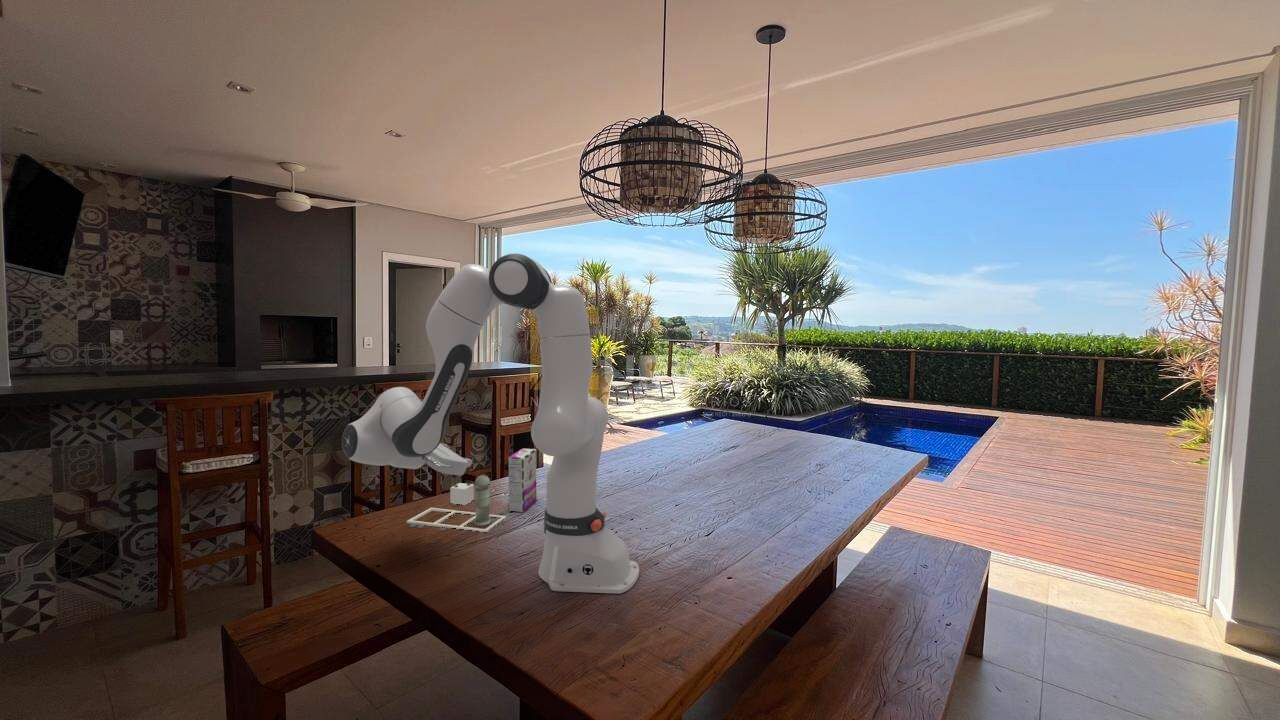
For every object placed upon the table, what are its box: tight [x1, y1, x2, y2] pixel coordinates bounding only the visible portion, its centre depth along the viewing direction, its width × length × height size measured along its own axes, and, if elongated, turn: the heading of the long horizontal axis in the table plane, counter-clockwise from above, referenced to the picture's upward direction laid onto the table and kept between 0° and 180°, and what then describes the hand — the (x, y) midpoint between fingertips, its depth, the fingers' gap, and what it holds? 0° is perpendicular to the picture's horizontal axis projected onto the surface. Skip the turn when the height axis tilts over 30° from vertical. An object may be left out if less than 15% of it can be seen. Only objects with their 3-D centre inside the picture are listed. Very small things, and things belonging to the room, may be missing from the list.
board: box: [406, 507, 507, 533], centre depth 149 cm, size 24×13×1 cm, turn 77°
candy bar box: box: [507, 447, 537, 513], centre depth 163 cm, size 11×5×16 cm, turn 171°
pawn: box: [473, 474, 492, 527], centre depth 148 cm, size 4×4×14 cm
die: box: [449, 482, 475, 506], centre depth 166 cm, size 5×5×6 cm
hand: (458, 455), depth 138 cm, fingers open, 8 cm apart
